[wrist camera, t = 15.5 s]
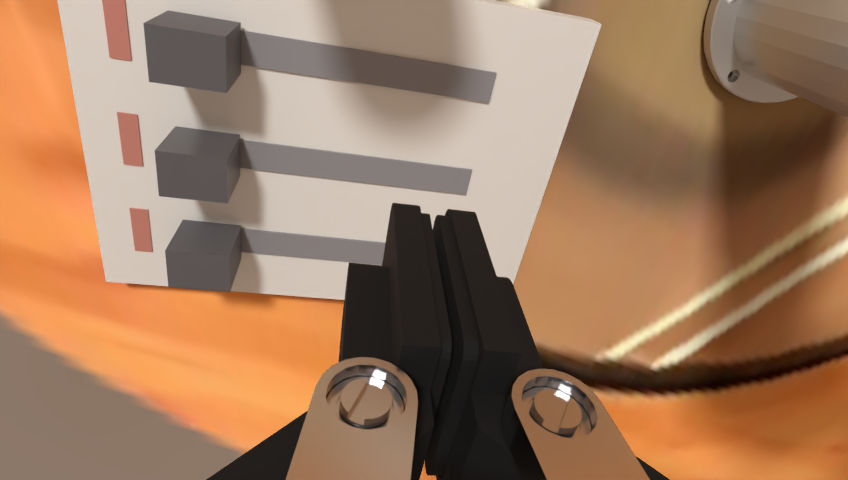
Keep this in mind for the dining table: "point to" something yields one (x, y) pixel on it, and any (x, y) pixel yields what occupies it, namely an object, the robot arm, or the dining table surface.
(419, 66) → the switch panel
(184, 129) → the handle
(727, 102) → the dining table surface
